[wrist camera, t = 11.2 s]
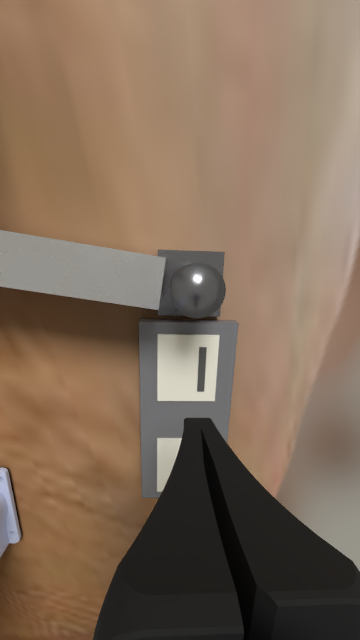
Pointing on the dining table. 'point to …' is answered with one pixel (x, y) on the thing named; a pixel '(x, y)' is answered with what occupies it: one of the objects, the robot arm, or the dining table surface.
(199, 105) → the dining table surface
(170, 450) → the label board
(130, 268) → the swing arm
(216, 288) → the grey joystick
